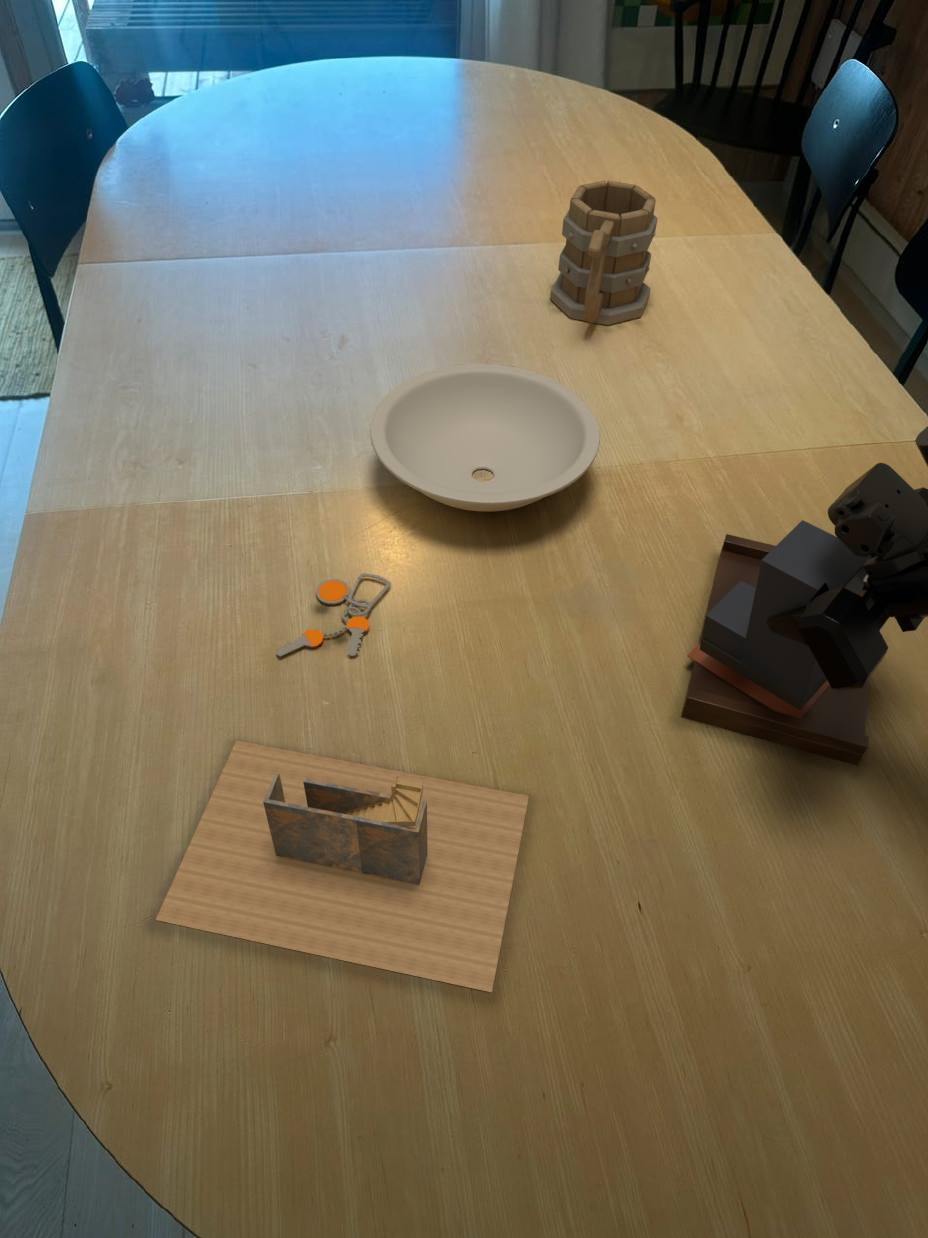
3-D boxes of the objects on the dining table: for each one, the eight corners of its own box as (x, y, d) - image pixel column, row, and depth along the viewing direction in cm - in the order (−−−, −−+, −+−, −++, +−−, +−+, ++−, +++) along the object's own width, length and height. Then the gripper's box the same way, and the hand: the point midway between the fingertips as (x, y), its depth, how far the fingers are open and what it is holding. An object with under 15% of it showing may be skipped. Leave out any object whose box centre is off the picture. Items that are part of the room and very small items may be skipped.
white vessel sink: (634, 513, 102) (644, 463, 98) (427, 579, 95) (427, 529, 90) (527, 392, 117) (532, 344, 112) (340, 442, 109) (336, 392, 105)
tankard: (566, 270, 138) (577, 161, 126) (653, 286, 135) (673, 177, 124) (527, 341, 125) (536, 228, 114) (624, 361, 122) (643, 246, 111)
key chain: (334, 565, 96) (334, 558, 95) (402, 586, 94) (402, 579, 93) (269, 655, 88) (268, 649, 87) (342, 680, 86) (341, 673, 85)
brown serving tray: (872, 590, 95) (881, 570, 93) (857, 766, 81) (868, 747, 79) (712, 551, 99) (718, 531, 97) (672, 713, 85) (677, 694, 83)
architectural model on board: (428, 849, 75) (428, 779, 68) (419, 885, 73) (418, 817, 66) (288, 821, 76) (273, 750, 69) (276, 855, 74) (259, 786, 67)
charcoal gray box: (836, 670, 82) (874, 554, 72) (800, 711, 80) (833, 597, 69) (736, 612, 87) (757, 497, 77) (699, 649, 85) (716, 535, 74)
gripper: (982, 399, 68) (796, 461, 81) (872, 535, 58) (680, 580, 71) (1046, 532, 70) (855, 572, 83) (950, 684, 60) (751, 702, 73)
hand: (789, 601), depth 78 cm, fingers closed on charcoal gray box, 6 cm apart
